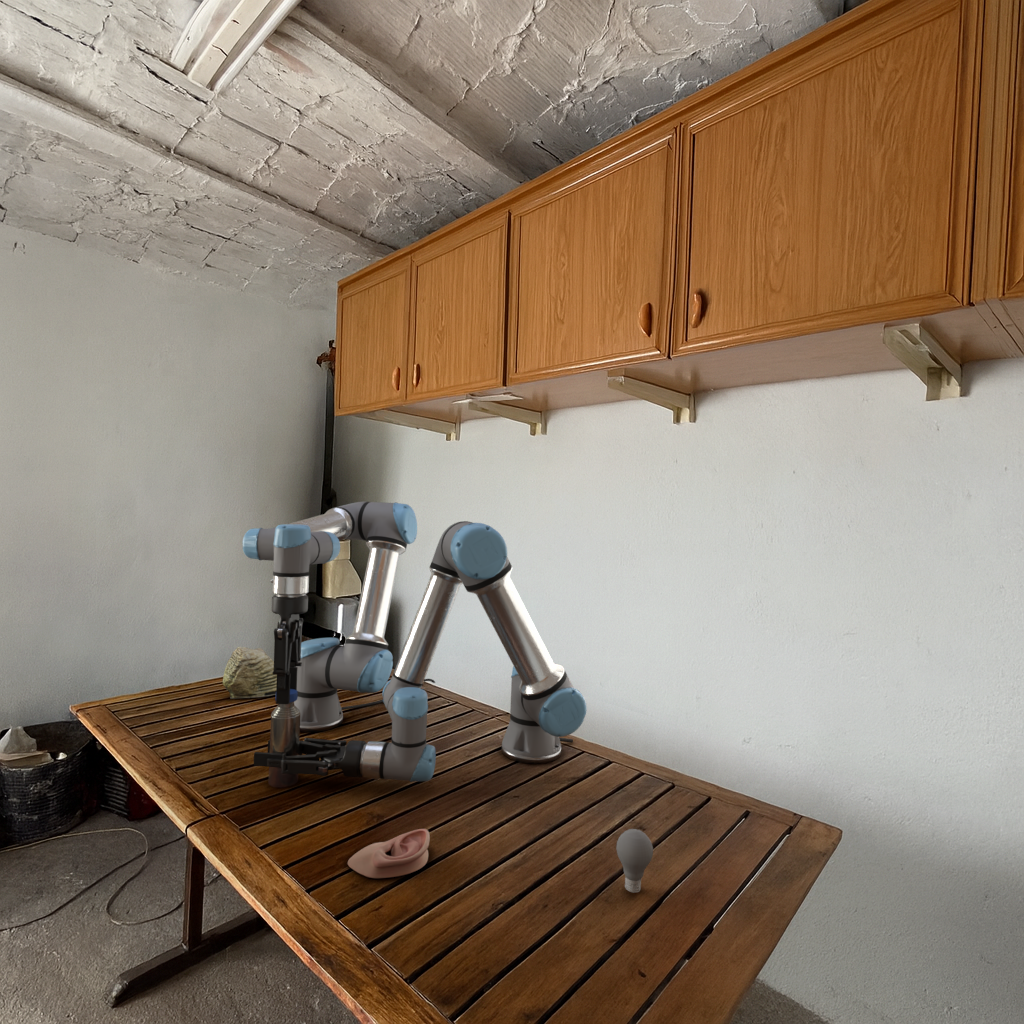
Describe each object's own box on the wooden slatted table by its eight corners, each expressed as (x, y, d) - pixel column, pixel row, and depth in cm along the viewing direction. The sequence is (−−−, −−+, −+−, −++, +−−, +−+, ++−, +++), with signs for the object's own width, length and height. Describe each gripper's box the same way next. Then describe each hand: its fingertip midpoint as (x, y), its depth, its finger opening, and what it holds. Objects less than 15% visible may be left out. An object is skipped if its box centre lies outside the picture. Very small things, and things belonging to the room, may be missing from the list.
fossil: (218, 695, 195) (220, 647, 195) (278, 685, 208) (279, 640, 207) (228, 703, 189) (230, 653, 188) (289, 692, 201) (290, 645, 201)
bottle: (303, 781, 140) (306, 695, 140) (276, 790, 136) (279, 701, 135) (289, 772, 144) (292, 689, 144) (263, 780, 140) (266, 694, 140)
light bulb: (610, 879, 108) (613, 822, 108) (644, 879, 109) (647, 822, 109) (619, 902, 102) (622, 840, 102) (655, 901, 103) (658, 840, 103)
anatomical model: (339, 849, 107) (368, 816, 118) (339, 872, 107) (367, 837, 118) (414, 862, 104) (436, 827, 115) (413, 885, 104) (435, 848, 116)
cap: (302, 699, 141) (302, 691, 141) (285, 704, 137) (285, 696, 137) (287, 695, 143) (287, 687, 143) (270, 700, 139) (270, 692, 139)
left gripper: (285, 588, 148) (281, 687, 148) (259, 600, 130) (254, 712, 131) (317, 589, 148) (313, 688, 149) (296, 601, 131) (291, 713, 131)
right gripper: (350, 796, 130) (240, 788, 131) (375, 758, 149) (279, 752, 150) (351, 760, 129) (241, 752, 131) (376, 726, 149) (280, 720, 150)
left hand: (286, 699), depth 140 cm, fingers closed on cap, 4 cm apart
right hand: (261, 752), depth 140 cm, fingers closed on bottle, 6 cm apart
